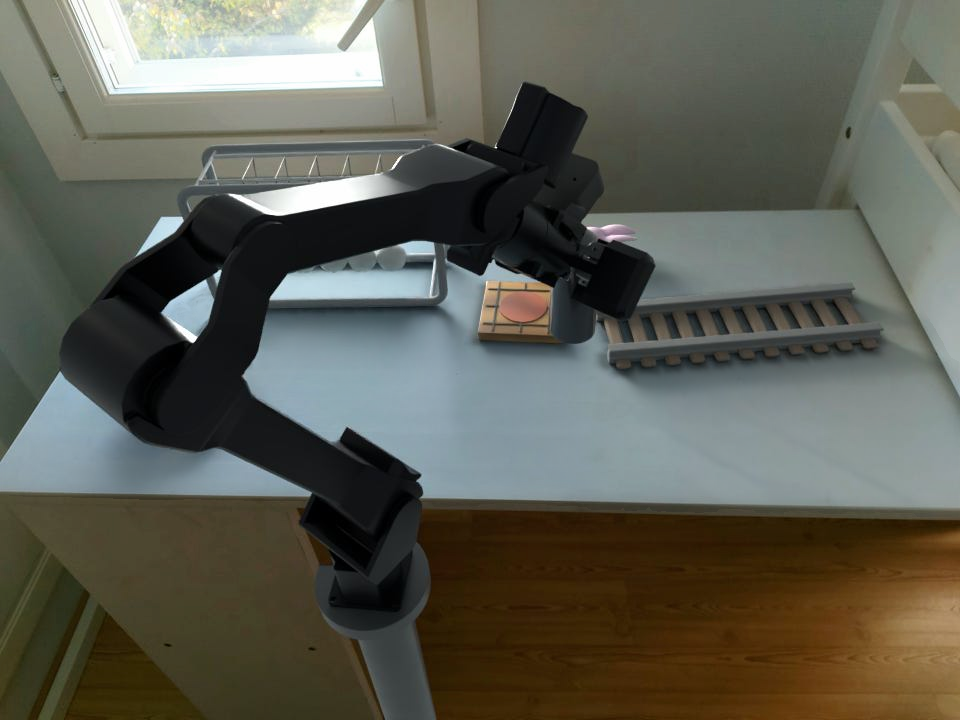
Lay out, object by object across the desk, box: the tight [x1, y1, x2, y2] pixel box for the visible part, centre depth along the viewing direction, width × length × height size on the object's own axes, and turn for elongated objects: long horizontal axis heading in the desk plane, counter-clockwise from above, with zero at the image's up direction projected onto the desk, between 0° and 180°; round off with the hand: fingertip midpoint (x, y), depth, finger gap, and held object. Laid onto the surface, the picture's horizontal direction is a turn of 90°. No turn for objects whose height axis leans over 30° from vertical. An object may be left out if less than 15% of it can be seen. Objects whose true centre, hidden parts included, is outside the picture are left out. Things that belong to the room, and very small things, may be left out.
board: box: [477, 280, 563, 344], centre depth 92 cm, size 10×10×1 cm
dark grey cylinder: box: [550, 229, 598, 345], centre depth 76 cm, size 5×5×12 cm
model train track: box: [596, 281, 884, 371], centre depth 89 cm, size 11×31×2 cm, turn 94°
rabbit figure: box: [586, 224, 638, 243], centre depth 99 cm, size 6×6×15 cm
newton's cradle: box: [176, 138, 449, 309], centre depth 93 cm, size 30×10×18 cm, turn 88°
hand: (582, 273), depth 76 cm, fingers closed on dark grey cylinder, 5 cm apart
